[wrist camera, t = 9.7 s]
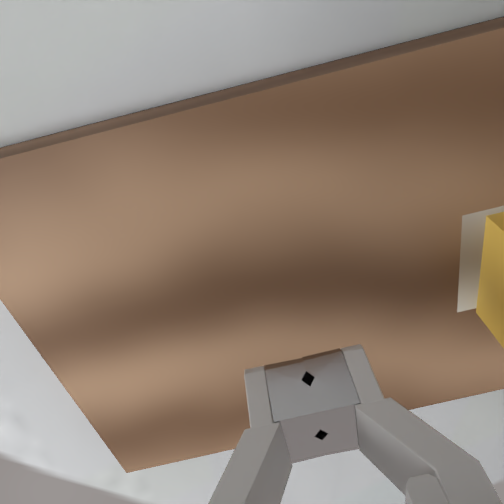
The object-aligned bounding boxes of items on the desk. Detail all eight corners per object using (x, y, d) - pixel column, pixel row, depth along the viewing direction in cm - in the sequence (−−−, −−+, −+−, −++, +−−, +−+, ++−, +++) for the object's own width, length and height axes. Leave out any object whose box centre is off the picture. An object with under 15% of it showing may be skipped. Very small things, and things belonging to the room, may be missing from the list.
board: (-67, 165, 12) (-86, 180, 11) (1030, -121, 11) (1100, -128, 10) (129, 451, 20) (126, 473, 19) (774, 305, 19) (801, 322, 18)
